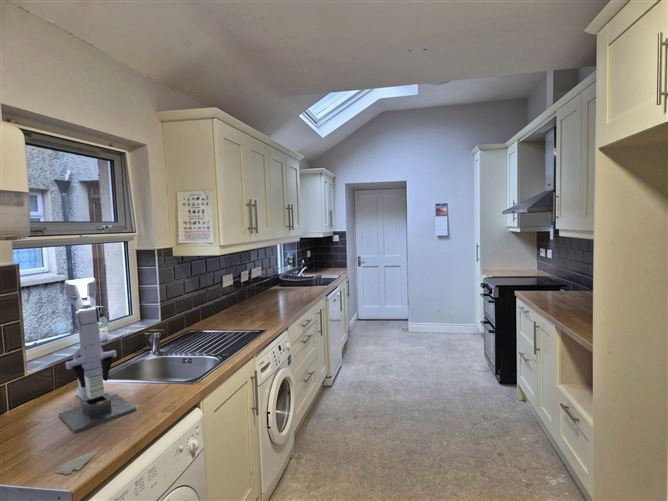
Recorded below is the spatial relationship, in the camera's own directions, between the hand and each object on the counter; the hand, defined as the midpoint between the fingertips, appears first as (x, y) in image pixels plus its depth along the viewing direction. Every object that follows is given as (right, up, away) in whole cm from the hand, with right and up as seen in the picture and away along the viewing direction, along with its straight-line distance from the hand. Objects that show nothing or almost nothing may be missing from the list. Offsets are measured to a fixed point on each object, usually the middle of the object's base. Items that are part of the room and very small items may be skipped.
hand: (94, 383), depth 132 cm
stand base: (+1, -10, +1) cm, 10 cm away
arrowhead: (+13, -13, -28) cm, 33 cm away
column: (0, -4, 0) cm, 4 cm away
